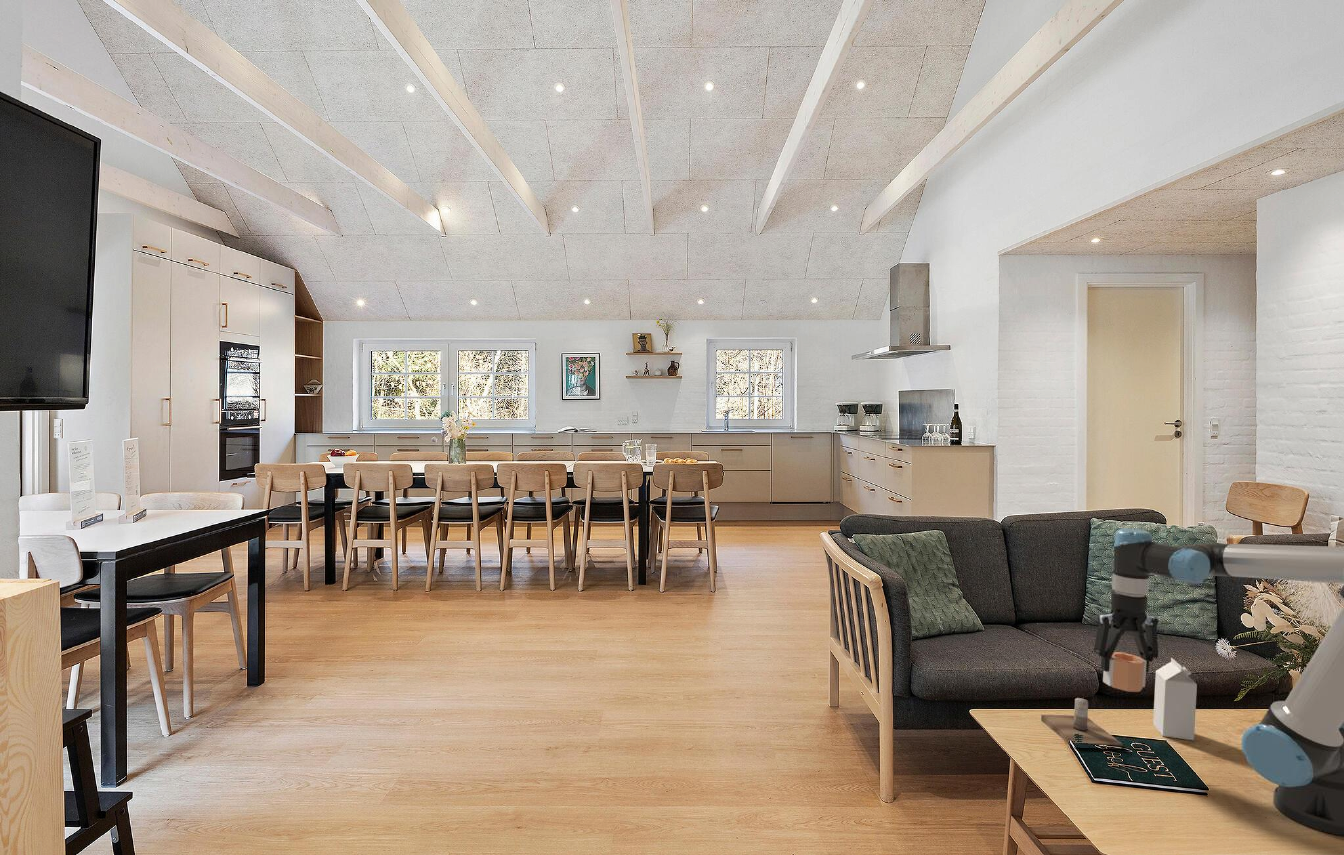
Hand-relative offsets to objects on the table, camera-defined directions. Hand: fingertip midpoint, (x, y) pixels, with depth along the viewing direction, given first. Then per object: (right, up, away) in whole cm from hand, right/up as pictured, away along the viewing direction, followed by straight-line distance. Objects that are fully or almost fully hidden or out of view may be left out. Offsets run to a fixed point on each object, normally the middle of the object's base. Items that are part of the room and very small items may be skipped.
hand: (1123, 684), depth 175 cm
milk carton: (+21, -18, +13) cm, 31 cm away
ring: (0, 0, 0) cm, 0 cm away
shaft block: (-5, -17, +11) cm, 21 cm away
